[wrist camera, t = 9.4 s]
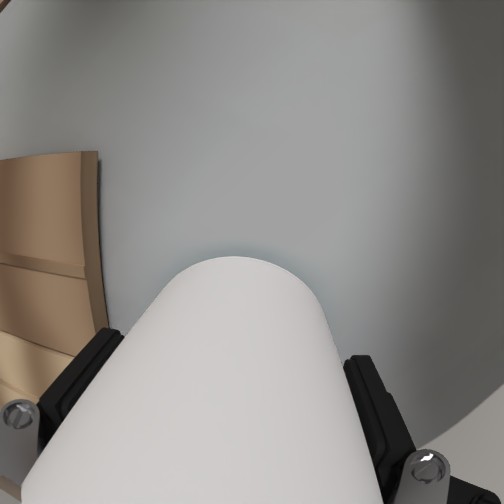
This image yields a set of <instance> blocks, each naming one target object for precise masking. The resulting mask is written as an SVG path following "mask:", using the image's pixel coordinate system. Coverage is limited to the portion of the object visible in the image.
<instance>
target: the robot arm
mask: <svg viewBox="0 0 504 504" xmlns="http://www.w3.org/2000/svg"><path fill="white" fill-rule="evenodd" d="M124 338H125V337H124V336H123V335H121V333H120V331H119V330H115V329H110V328H106V327H103V328H101V329H100V330H99V332H98V333H97V334H96V335H95V336H94V337H93V338H92V339H91V340H90V341H89V342H88V343H87V345H86V346H85V347H84V348H83V349H82V350H81V351H80V352H79V353H78V354H77V356H76V357H75V358H74V359H73V360H72V361H71V362H70V363H69V365H68V366H67V367H66V368H65V369H64V370H63V371H62V372H61V374H60V375H59V376H58V377H57V378H56V379H55V381H54V382H53V383H52V384H51V385H50V386H49V388H48V389H47V390H46V391H45V392H44V393H43V395H42V396H41V397H40V398H39V402H38V403H37V404H36V405H35V404H34V403H33V402H31V401H29V400H26V399H15V400H12V401H10V402H8V403H7V404H5V405H4V406H3V407H2V409H1V411H0V504H21V503H22V498H21V487H20V486H21V484H22V483H23V481H24V480H25V478H26V476H27V475H28V473H29V472H30V470H31V469H32V467H33V466H34V464H35V462H36V461H37V459H38V458H39V456H40V455H41V453H42V452H43V450H44V449H45V447H46V446H47V444H48V443H49V441H50V440H51V438H52V437H53V435H54V434H55V432H56V431H57V430H58V428H59V427H60V425H61V424H62V422H63V421H64V419H65V418H66V417H67V415H68V414H69V412H70V411H71V409H72V408H73V407H74V405H75V404H76V402H77V401H78V400H79V398H80V397H81V395H82V394H83V393H84V391H85V390H86V389H87V387H88V386H89V384H90V383H91V382H92V380H93V379H94V378H95V376H96V375H97V374H98V372H99V371H100V370H101V368H102V367H103V366H104V364H105V363H106V362H107V360H108V359H109V358H110V356H111V355H112V354H113V352H114V351H115V350H116V348H117V347H118V346H119V344H120V343H121V342H122V341H123V339H124ZM343 370H344V373H345V376H346V379H347V382H348V385H349V388H350V391H351V394H352V397H353V400H354V403H355V407H356V410H357V413H358V416H359V419H360V423H361V426H362V429H363V432H364V436H365V439H366V442H367V446H368V449H369V453H370V456H371V460H372V463H373V467H374V470H375V474H376V477H377V481H378V485H379V489H380V492H381V496H382V500H383V504H501V502H500V499H499V498H498V496H497V495H496V494H495V493H493V492H491V491H488V490H485V489H483V488H480V487H478V486H475V485H473V484H470V483H468V482H465V481H463V480H460V479H458V478H455V477H453V476H451V475H450V465H449V463H448V461H447V459H446V458H445V457H444V456H443V455H442V454H440V453H439V452H436V451H433V450H427V449H422V450H416V448H415V446H414V443H413V441H412V439H411V436H410V434H409V432H408V430H407V427H406V425H405V423H404V421H403V418H402V416H401V414H400V412H399V410H398V407H397V405H396V403H395V401H394V399H393V397H392V395H391V394H390V393H388V392H387V391H386V389H385V387H384V384H383V382H382V380H381V378H380V376H379V374H378V372H377V370H376V368H375V365H374V363H373V361H372V359H371V357H370V356H369V355H353V356H352V357H351V358H350V359H347V360H346V361H345V363H344V366H343Z"/></svg>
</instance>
